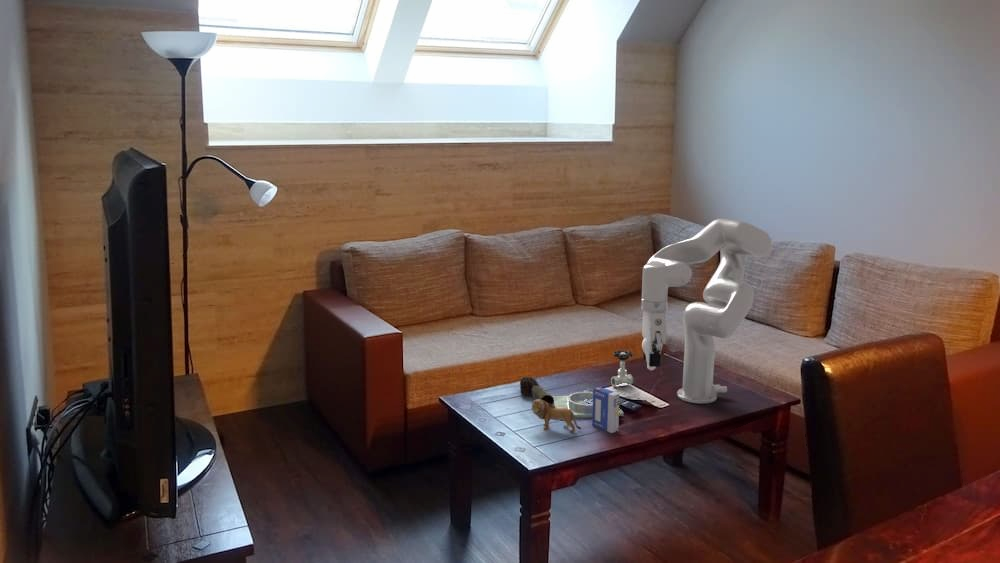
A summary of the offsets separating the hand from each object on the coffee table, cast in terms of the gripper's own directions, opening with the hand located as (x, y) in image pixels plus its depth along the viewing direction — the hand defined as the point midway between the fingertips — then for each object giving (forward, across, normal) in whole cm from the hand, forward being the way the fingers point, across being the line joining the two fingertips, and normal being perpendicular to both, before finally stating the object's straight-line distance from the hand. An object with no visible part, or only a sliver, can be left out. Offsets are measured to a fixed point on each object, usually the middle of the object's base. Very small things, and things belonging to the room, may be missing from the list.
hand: (651, 362), depth 242 cm
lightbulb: (+3, 0, 0) cm, 3 cm away
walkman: (+17, -8, +16) cm, 25 cm away
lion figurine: (+17, -8, +31) cm, 36 cm away
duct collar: (+17, +8, +18) cm, 26 cm away
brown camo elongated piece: (+18, +18, +33) cm, 42 cm away
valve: (+18, +26, +2) cm, 31 cm away
